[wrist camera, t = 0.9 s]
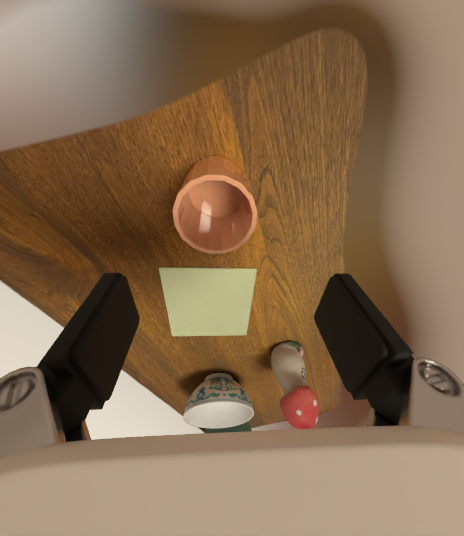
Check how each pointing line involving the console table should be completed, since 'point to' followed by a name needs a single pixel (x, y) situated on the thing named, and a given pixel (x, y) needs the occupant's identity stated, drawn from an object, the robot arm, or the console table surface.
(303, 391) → the decorative ornament
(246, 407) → the chinaware
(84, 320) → the robot arm
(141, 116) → the console table surface
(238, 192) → the cup
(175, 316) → the mat
